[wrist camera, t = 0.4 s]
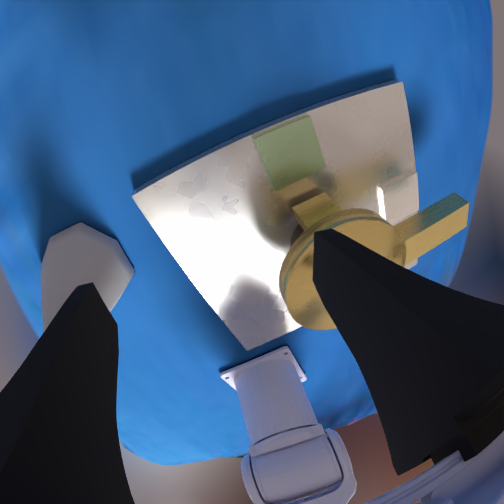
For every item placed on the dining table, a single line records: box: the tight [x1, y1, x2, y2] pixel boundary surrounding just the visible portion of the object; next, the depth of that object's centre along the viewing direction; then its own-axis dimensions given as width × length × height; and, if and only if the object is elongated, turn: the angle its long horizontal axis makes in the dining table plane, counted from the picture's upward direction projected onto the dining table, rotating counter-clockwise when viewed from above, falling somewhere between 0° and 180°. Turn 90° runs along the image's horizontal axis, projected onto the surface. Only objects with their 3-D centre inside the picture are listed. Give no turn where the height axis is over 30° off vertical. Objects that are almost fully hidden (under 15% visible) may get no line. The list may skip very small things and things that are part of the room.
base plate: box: [132, 80, 419, 351], centre depth 20 cm, size 18×19×4 cm
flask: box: [41, 222, 135, 333], centre depth 15 cm, size 7×7×10 cm
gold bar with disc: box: [279, 192, 469, 330], centre depth 19 cm, size 15×8×5 cm, turn 112°
